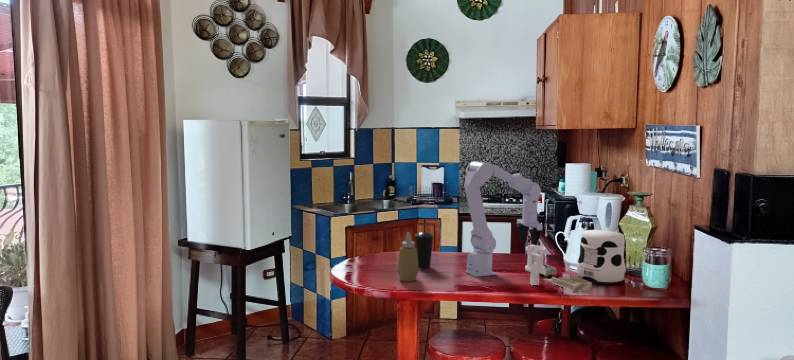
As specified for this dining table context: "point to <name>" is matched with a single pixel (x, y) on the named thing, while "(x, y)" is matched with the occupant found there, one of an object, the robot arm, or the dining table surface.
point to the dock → (571, 283)
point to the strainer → (535, 262)
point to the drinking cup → (424, 248)
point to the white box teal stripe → (549, 271)
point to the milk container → (601, 257)
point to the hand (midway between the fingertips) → (528, 244)
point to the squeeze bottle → (408, 260)
